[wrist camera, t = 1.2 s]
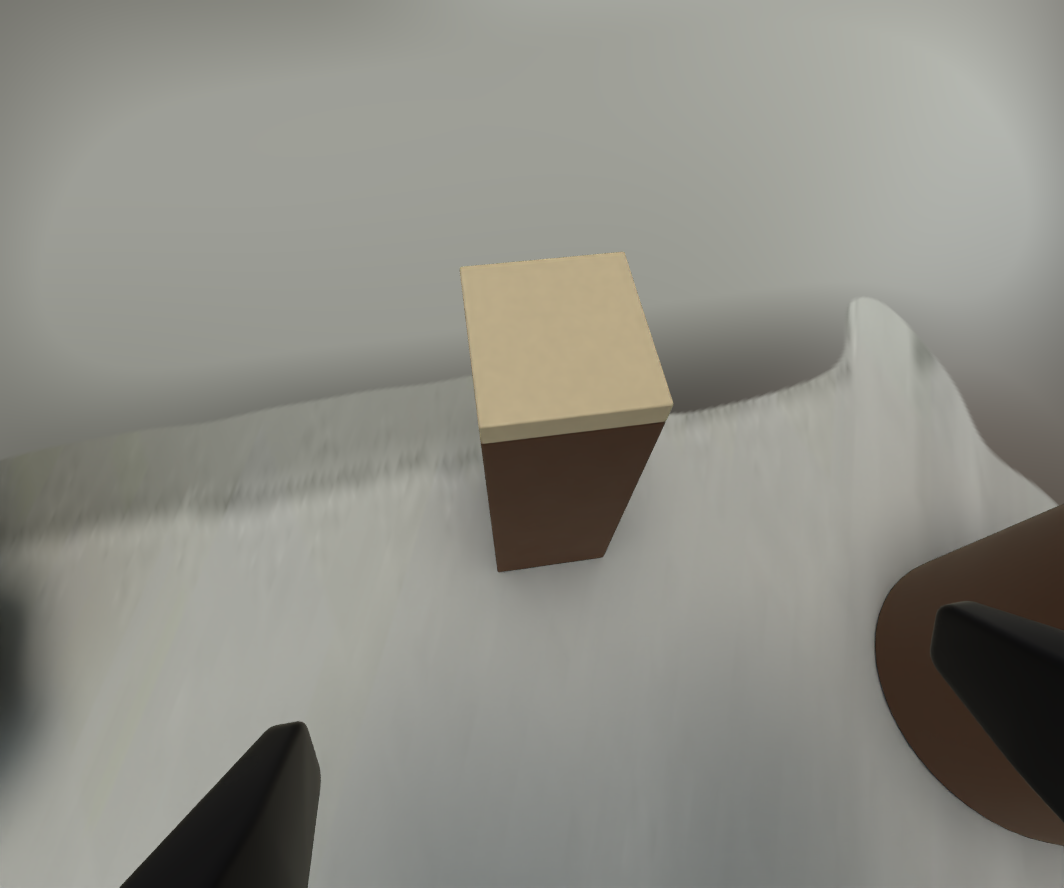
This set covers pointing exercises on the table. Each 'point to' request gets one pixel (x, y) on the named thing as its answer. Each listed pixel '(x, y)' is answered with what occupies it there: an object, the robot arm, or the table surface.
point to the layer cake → (925, 697)
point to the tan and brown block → (561, 401)
